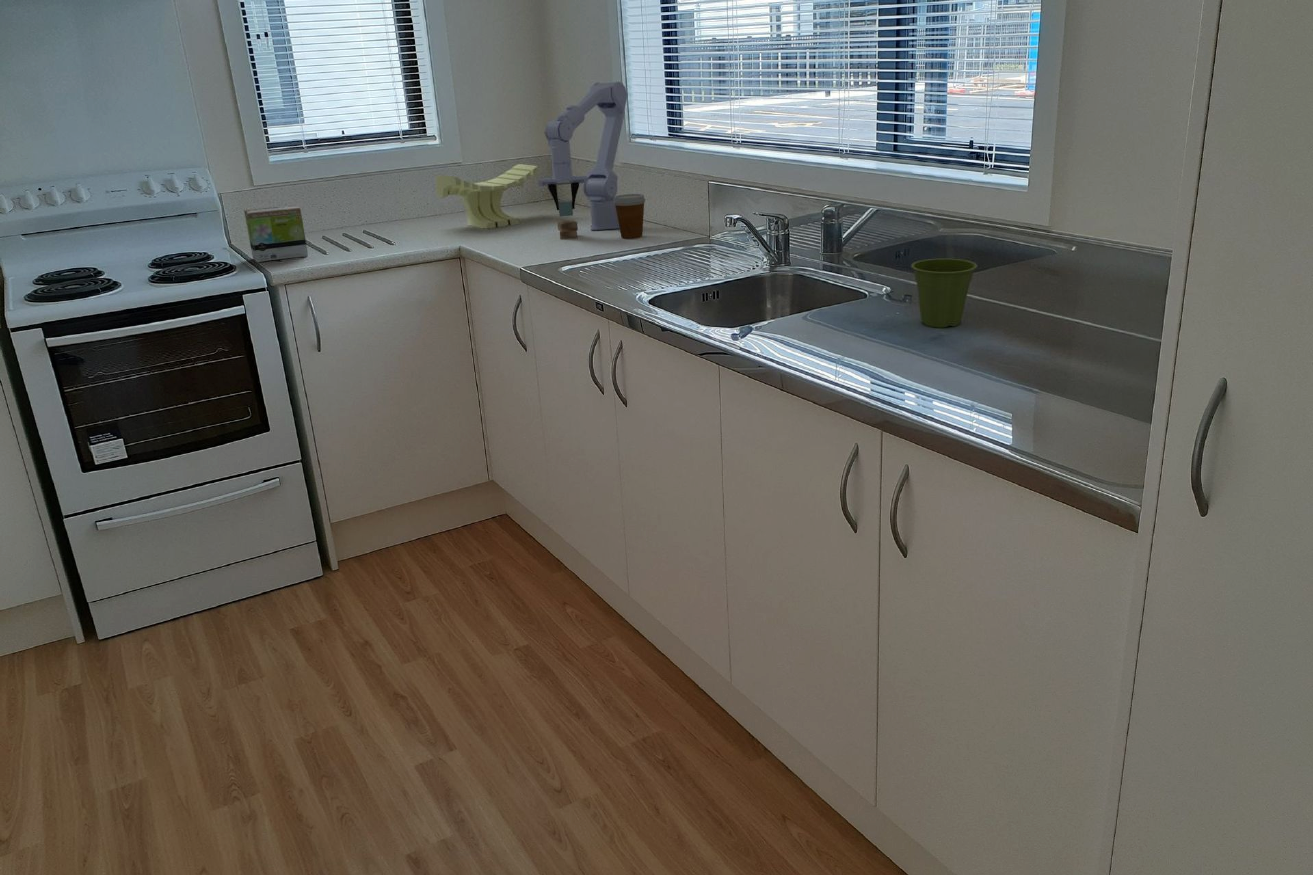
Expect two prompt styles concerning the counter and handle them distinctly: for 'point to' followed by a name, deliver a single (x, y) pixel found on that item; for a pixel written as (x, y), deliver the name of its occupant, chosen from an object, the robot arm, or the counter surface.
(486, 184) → the slatted curved stool
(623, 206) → the disposable coffee cup
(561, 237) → the bottom slab
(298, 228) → the tea box
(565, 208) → the cube
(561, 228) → the top slab
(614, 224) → the robot arm
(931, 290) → the plant pot
